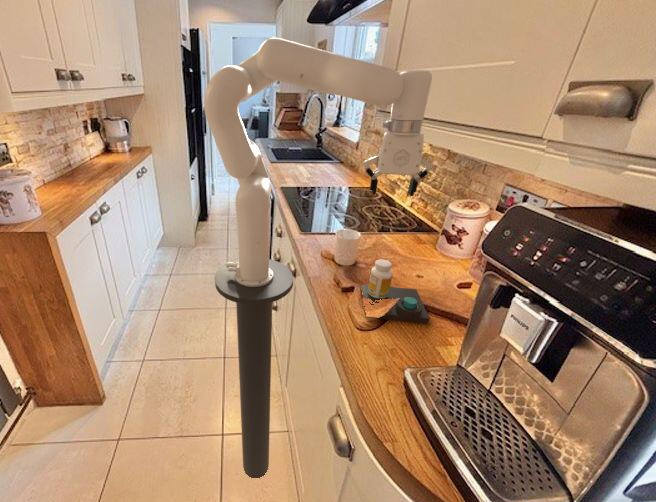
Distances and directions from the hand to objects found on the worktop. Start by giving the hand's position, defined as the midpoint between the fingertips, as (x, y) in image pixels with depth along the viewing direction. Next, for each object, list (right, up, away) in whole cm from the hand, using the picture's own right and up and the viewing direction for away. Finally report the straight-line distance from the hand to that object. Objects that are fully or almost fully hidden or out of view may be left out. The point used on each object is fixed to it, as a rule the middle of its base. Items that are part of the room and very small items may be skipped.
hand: (391, 193), depth 89 cm
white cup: (-7, -19, +21) cm, 29 cm away
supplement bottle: (-4, -28, +1) cm, 28 cm away
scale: (-1, -30, -1) cm, 30 cm away
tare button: (+2, -30, -7) cm, 30 cm away
